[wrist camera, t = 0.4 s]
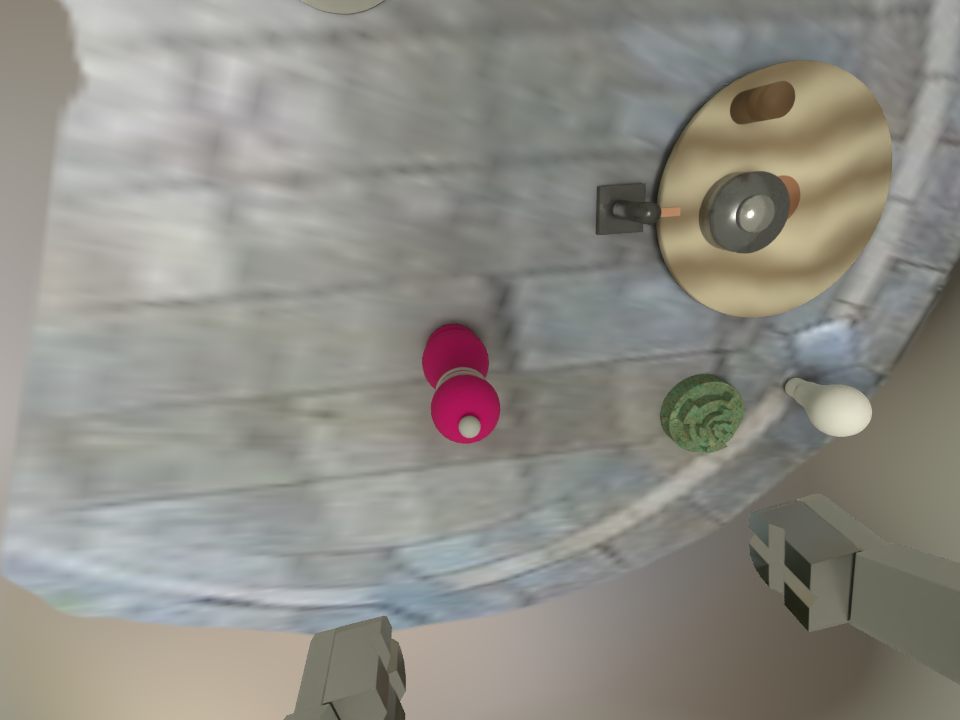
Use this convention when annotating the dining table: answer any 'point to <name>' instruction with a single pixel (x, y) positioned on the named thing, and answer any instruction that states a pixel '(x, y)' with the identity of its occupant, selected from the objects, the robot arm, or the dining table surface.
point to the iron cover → (744, 211)
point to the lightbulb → (832, 406)
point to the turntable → (803, 169)
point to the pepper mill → (460, 384)
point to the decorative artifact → (702, 413)
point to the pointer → (627, 209)
